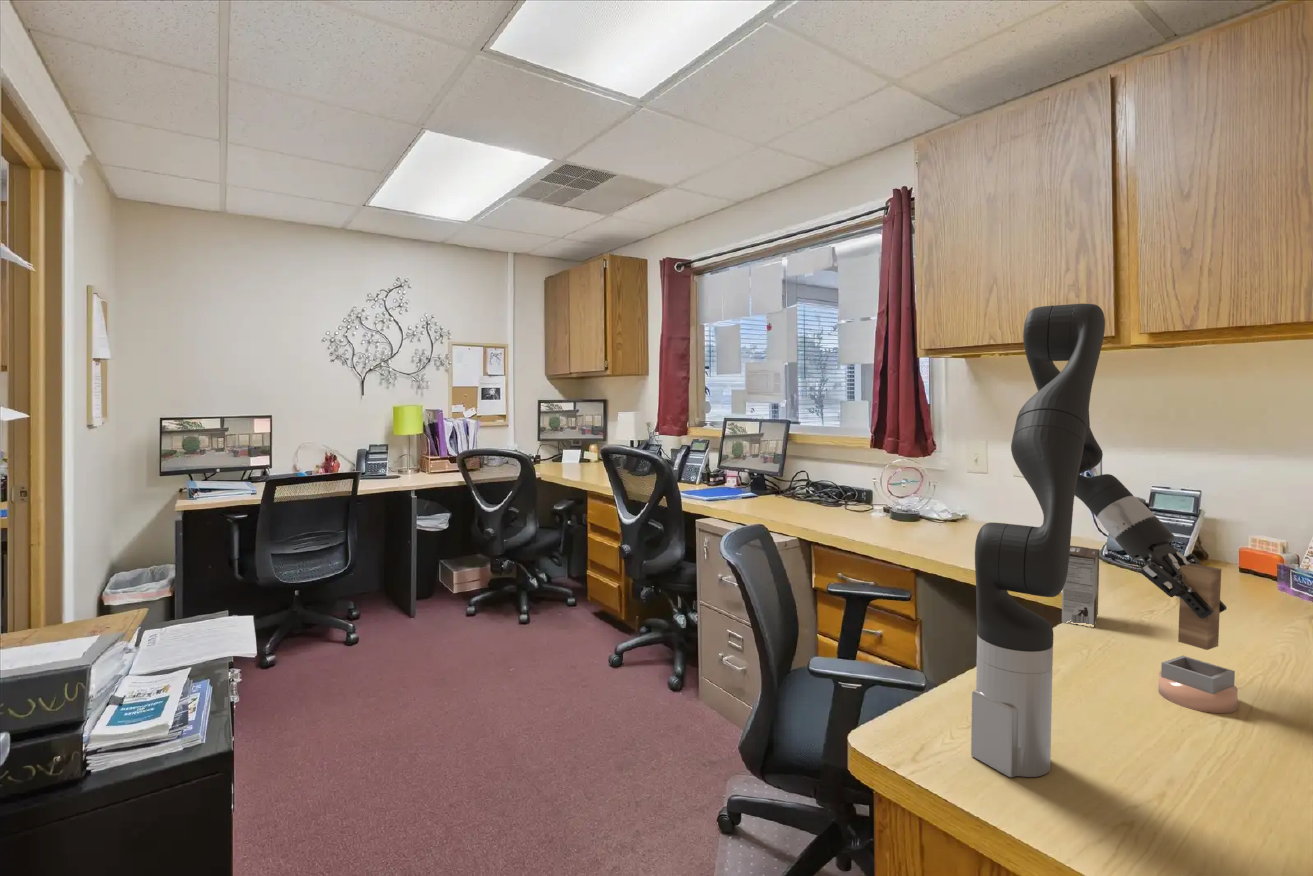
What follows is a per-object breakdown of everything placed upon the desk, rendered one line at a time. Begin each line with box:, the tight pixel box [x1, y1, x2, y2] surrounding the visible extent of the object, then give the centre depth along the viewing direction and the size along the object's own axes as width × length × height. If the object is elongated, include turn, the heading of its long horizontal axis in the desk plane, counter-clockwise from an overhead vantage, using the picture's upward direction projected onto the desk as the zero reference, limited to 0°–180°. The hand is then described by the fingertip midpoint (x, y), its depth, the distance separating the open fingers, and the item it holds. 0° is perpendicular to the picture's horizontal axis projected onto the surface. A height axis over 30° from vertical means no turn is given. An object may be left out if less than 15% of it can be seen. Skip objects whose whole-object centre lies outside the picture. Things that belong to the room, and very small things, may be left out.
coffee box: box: [1061, 545, 1100, 626], centre depth 143 cm, size 9×6×16 cm
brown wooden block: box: [1177, 563, 1222, 651], centre depth 105 cm, size 4×4×13 cm
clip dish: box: [1157, 655, 1239, 714], centre depth 105 cm, size 10×10×6 cm
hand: (1214, 613), depth 103 cm, fingers closed on brown wooden block, 3 cm apart
